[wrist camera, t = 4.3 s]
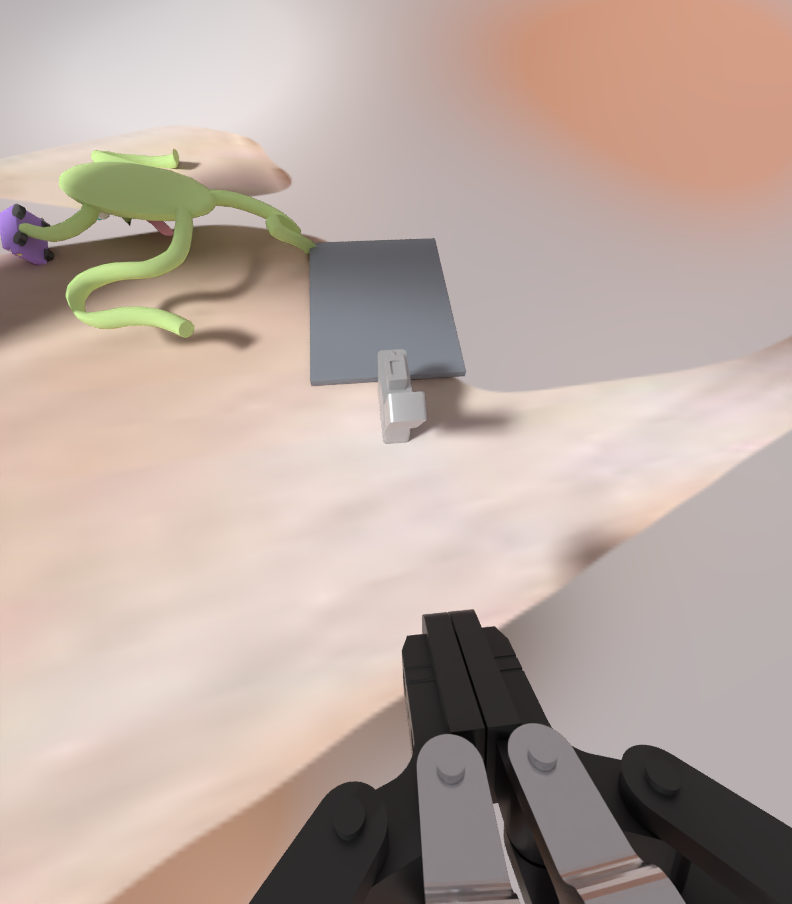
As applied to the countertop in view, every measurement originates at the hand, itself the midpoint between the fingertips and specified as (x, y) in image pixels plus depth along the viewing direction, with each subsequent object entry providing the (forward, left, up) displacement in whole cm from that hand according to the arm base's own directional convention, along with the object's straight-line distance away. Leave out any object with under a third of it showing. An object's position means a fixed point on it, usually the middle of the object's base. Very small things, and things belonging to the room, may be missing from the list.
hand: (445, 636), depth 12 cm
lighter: (0, +13, -10) cm, 16 cm away
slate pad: (0, +25, -10) cm, 27 cm away
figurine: (-18, +33, -11) cm, 39 cm away
